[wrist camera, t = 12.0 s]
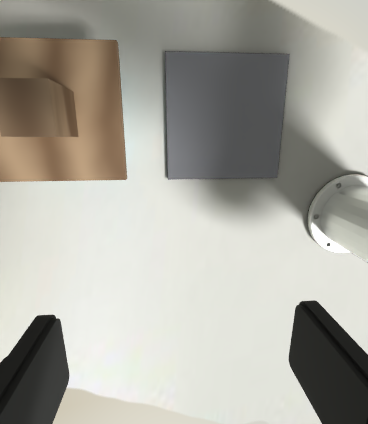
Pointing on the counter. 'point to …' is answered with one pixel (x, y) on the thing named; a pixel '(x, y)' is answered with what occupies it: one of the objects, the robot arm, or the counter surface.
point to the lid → (60, 110)
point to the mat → (224, 114)
